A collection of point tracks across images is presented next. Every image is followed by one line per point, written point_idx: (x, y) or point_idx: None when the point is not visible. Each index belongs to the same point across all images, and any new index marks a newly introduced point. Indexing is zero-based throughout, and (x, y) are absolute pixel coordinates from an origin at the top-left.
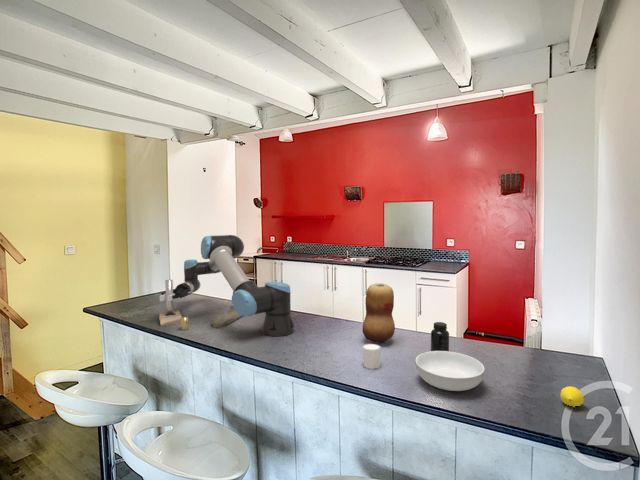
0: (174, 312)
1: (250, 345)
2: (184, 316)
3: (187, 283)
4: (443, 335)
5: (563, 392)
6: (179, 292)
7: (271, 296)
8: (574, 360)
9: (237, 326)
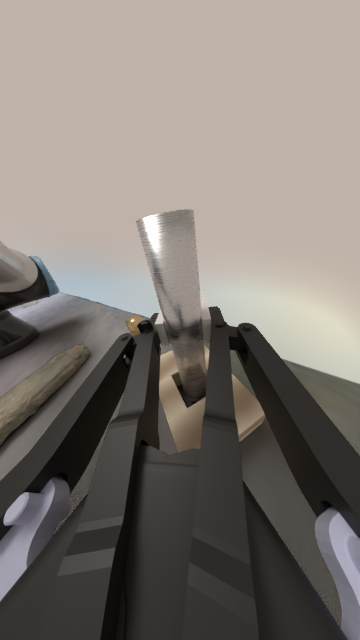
0: (189, 412)
1: (76, 312)
2: (132, 322)
3: None
4: None
5: None
6: (132, 368)
7: None
8: None
9: (44, 360)
